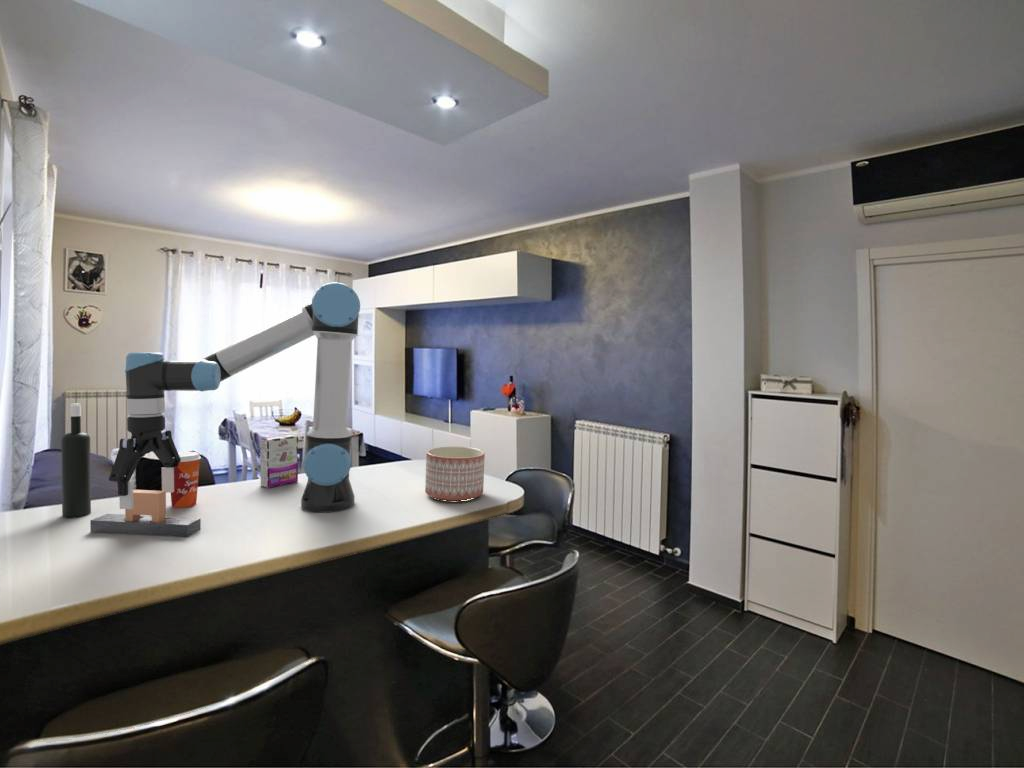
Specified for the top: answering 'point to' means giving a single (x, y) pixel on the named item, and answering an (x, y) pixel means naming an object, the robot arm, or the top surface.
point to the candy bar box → (279, 460)
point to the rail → (146, 525)
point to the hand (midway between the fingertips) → (148, 499)
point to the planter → (454, 473)
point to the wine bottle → (76, 468)
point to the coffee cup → (186, 480)
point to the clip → (147, 505)
